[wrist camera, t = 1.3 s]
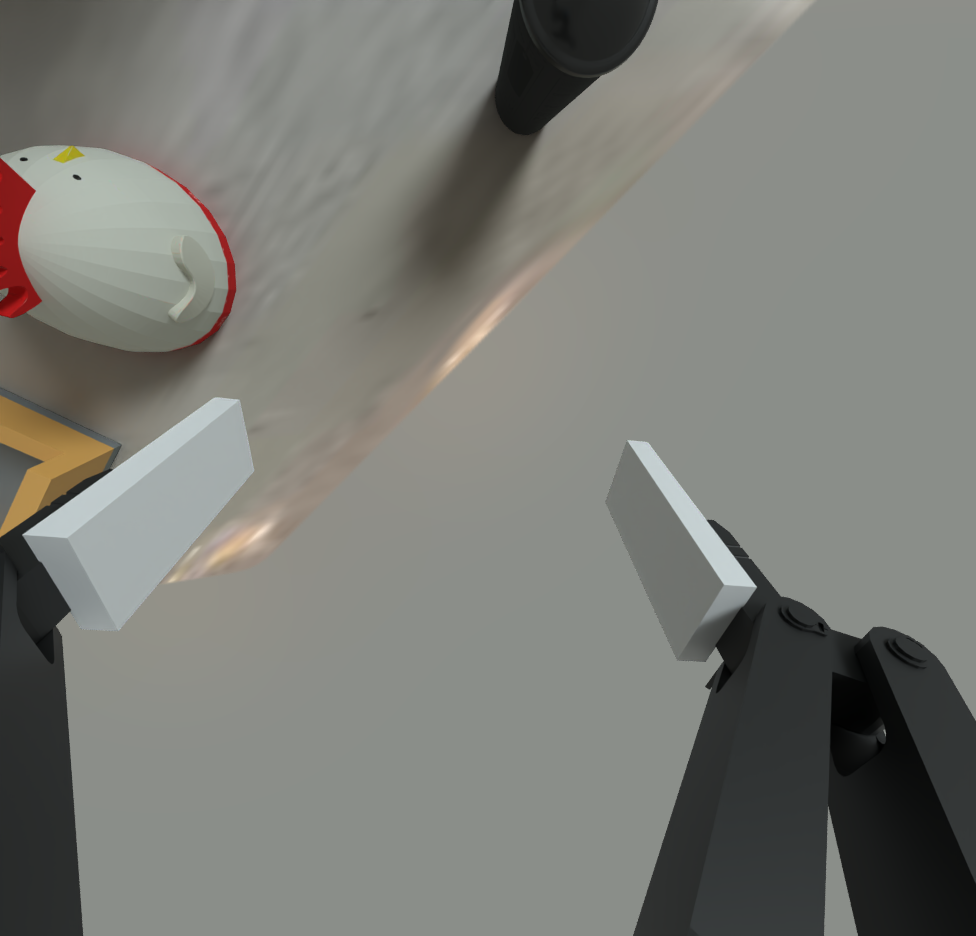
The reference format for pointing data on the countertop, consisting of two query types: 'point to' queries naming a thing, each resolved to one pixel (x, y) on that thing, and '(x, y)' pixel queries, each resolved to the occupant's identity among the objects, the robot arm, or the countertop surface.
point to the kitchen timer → (110, 250)
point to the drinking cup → (563, 53)
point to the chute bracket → (43, 458)
